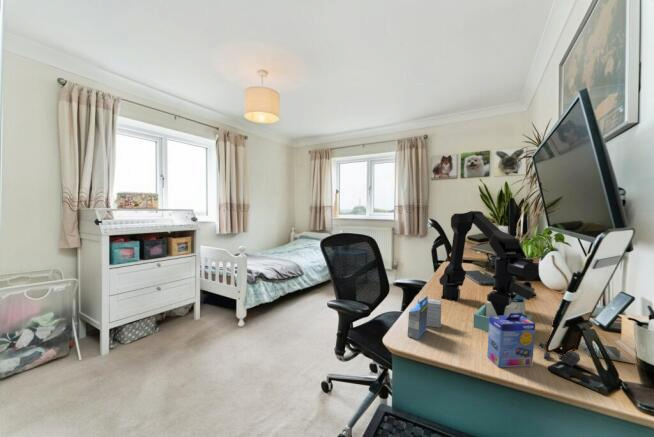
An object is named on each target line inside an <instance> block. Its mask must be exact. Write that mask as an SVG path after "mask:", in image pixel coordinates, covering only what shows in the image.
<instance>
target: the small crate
mask: <svg viewBox="0 0 654 437" xmlns="http://www.w3.org/2000/svg"><path fill="white" fill-rule="evenodd" d="M485 305H486V316H487V317H489V316H497V314H496V312H495V310H494V308H493V306H492V304H491V302H490V301H487V300H486V303H485ZM510 313H520V304H516V303H511V304H510V305H508V306H506V308H505V312H504V316H508V315H509V314H510Z"/></svg>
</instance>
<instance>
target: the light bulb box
mask: <svg viewBox="0 0 654 437" xmlns="http://www.w3.org/2000/svg"><path fill="white" fill-rule="evenodd" d="M513 294H515V293H514V292H513ZM515 295H517V296H516V297H515V298H513V299H512V300H511V303H516V304H520V313H523V314H526V299H525V298H524V297H522V296H520V295H518V294H515Z"/></svg>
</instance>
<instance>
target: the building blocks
mask: <svg viewBox="0 0 654 437" xmlns="http://www.w3.org/2000/svg"><path fill="white" fill-rule="evenodd" d="M537 346H538V347H540V348H541V349H544V347H545V346H546V344H545V343H544V342H542V341H540V342H539V343H538V345H537ZM543 359H544V360H546V361H547V362H548V361H549V360H550V359H551V353H550V352H549V351H547V352H546V351H544V353H543ZM558 360H559V361H561V362H563V363H564V364H566V363H568V364H571V365H574V367H575V366H576V365H577V364H578V363H579V362H580V361H581V356H580V354H579V353H578V352H576V351H575V350H573V351H569V352H567V353H566V354H565V355H559V354H558Z"/></svg>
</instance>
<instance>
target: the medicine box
mask: <svg viewBox="0 0 654 437" xmlns="http://www.w3.org/2000/svg"><path fill="white" fill-rule="evenodd" d="M424 298H425V297H423V298H422V297H418V298H417V304H419V302H420V301H422V300H423V299H424ZM423 303H425V302H423ZM426 327H433V328H441V327H442V301H441V299H440V300H439V299H432V298H431V299H430V298H428V305H427V322H426Z"/></svg>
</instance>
